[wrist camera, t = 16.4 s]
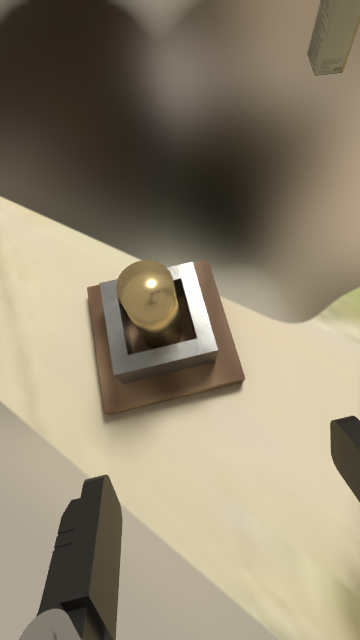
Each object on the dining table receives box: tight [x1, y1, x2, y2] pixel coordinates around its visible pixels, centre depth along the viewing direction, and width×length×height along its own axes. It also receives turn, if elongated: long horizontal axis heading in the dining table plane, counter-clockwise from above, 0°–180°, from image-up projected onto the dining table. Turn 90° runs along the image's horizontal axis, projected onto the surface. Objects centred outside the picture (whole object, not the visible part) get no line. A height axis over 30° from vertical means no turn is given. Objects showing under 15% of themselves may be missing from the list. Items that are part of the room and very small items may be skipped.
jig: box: [87, 260, 245, 415], centre depth 33 cm, size 14×14×6 cm
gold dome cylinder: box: [116, 260, 183, 349], centre depth 29 cm, size 4×4×10 cm
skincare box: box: [307, 0, 360, 75], centre depth 45 cm, size 6×4×12 cm
